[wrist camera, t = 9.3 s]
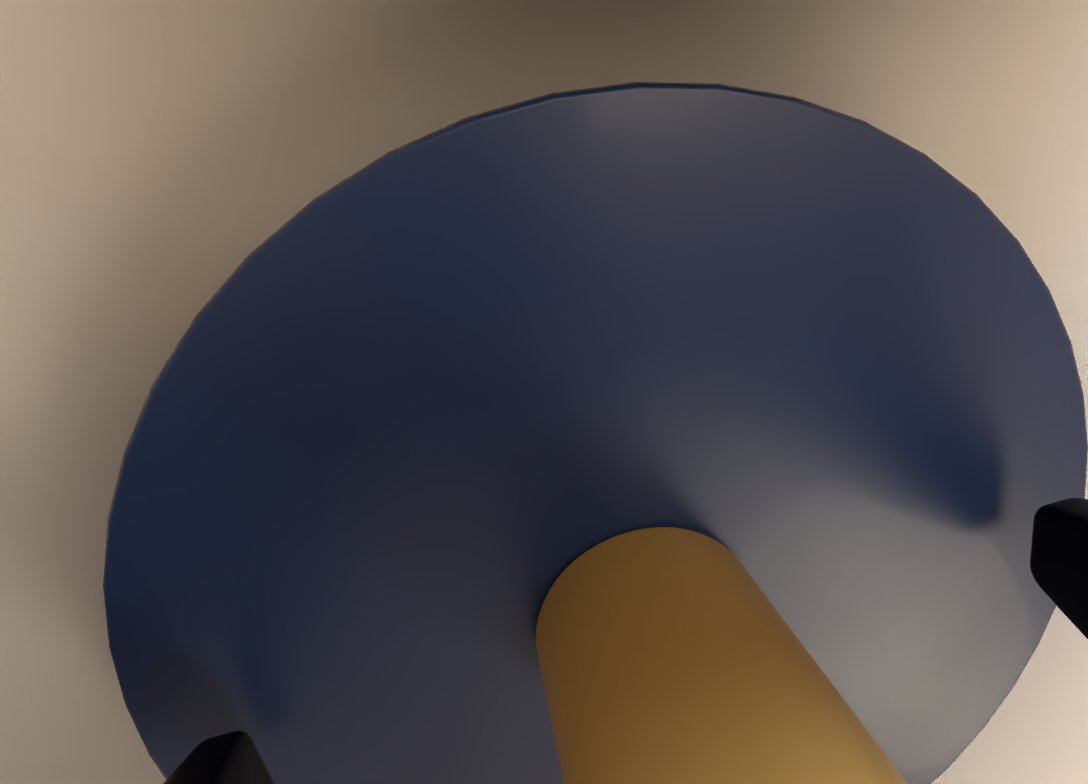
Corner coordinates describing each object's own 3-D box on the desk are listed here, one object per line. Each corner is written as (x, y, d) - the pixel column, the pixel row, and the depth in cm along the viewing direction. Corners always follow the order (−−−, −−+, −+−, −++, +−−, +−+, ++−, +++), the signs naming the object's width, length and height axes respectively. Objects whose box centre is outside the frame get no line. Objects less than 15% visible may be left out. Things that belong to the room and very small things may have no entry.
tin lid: (849, 864, 12) (1140, 1359, 7) (143, 880, 9) (-173, 1663, 4) (1158, 209, 8) (2203, 283, 3) (151, -42, 6) (-1324, -1077, 1)
